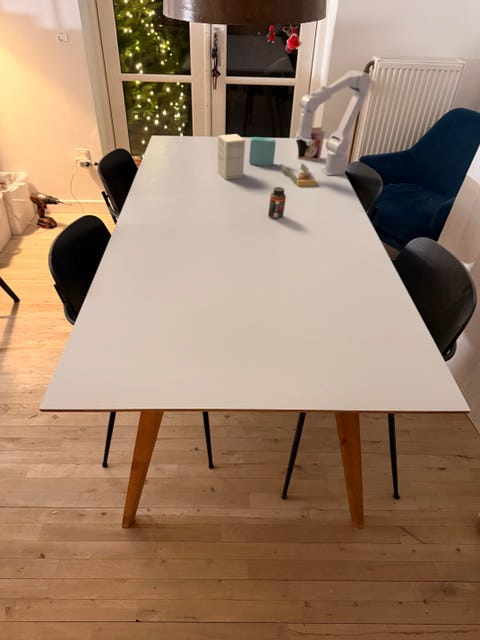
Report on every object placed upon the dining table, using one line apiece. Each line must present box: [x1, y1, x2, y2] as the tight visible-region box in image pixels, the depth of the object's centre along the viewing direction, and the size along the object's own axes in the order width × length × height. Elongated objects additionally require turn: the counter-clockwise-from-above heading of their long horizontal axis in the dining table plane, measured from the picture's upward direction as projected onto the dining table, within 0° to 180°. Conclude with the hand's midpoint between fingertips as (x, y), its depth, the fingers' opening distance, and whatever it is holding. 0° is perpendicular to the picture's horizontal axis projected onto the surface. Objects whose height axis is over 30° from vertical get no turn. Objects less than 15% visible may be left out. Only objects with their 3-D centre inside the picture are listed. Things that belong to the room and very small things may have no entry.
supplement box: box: [217, 133, 246, 180], centre depth 197 cm, size 10×9×17 cm
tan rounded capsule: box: [297, 171, 311, 180], centre depth 200 cm, size 5×5×4 cm
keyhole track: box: [279, 163, 317, 187], centre depth 205 cm, size 21×12×2 cm, turn 15°
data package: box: [248, 136, 276, 167], centre depth 213 cm, size 12×4×12 cm, turn 87°
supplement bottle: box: [267, 186, 287, 220], centre depth 168 cm, size 6×6×11 cm
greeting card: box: [297, 126, 326, 163], centre depth 223 cm, size 11×7×15 cm, turn 77°
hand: (301, 156), depth 201 cm, fingers closed
